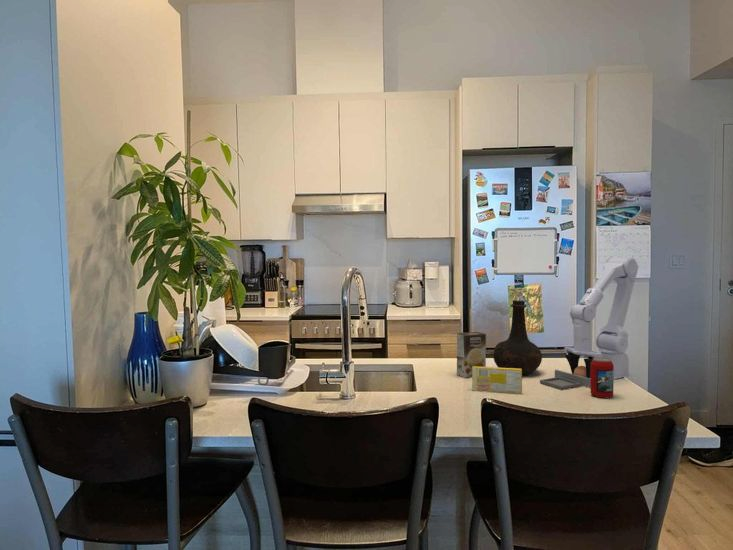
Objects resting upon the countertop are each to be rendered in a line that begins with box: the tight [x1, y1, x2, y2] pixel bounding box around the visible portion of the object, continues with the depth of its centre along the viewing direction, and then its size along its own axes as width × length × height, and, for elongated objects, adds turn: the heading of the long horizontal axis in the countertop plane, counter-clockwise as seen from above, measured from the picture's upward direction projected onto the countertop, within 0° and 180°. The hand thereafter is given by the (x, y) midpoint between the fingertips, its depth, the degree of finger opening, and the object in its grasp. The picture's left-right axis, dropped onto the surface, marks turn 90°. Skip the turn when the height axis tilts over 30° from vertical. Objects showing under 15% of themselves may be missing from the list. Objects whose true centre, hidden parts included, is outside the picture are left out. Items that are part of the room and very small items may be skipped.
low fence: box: [554, 369, 590, 389], centre depth 184 cm, size 1×16×3 cm, turn 26°
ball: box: [574, 365, 587, 378], centre depth 186 cm, size 6×6×6 cm
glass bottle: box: [492, 299, 543, 376], centre depth 199 cm, size 18×18×28 cm
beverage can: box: [589, 357, 615, 399], centre depth 167 cm, size 7×7×12 cm
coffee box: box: [456, 331, 487, 379], centre depth 196 cm, size 9×6×16 cm
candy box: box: [471, 366, 523, 395], centre depth 174 cm, size 16×2×8 cm, turn 71°
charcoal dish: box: [539, 376, 582, 391], centre depth 181 cm, size 9×10×1 cm
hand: (582, 375), depth 186 cm, fingers open, 6 cm apart
